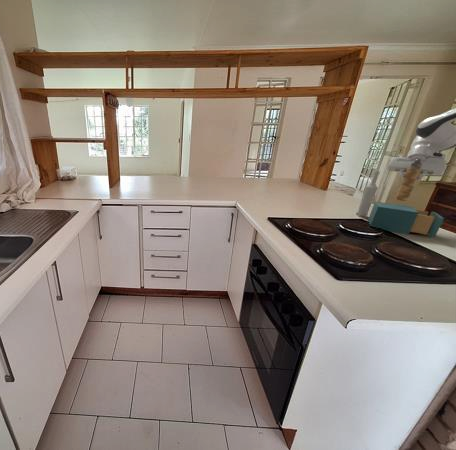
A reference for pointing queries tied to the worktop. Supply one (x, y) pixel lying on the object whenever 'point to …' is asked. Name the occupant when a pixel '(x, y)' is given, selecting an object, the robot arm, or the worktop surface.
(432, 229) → the drawer
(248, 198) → the worktop surface
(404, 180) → the pepper mill
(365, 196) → the bottle
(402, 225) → the cabinet
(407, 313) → the worktop surface
